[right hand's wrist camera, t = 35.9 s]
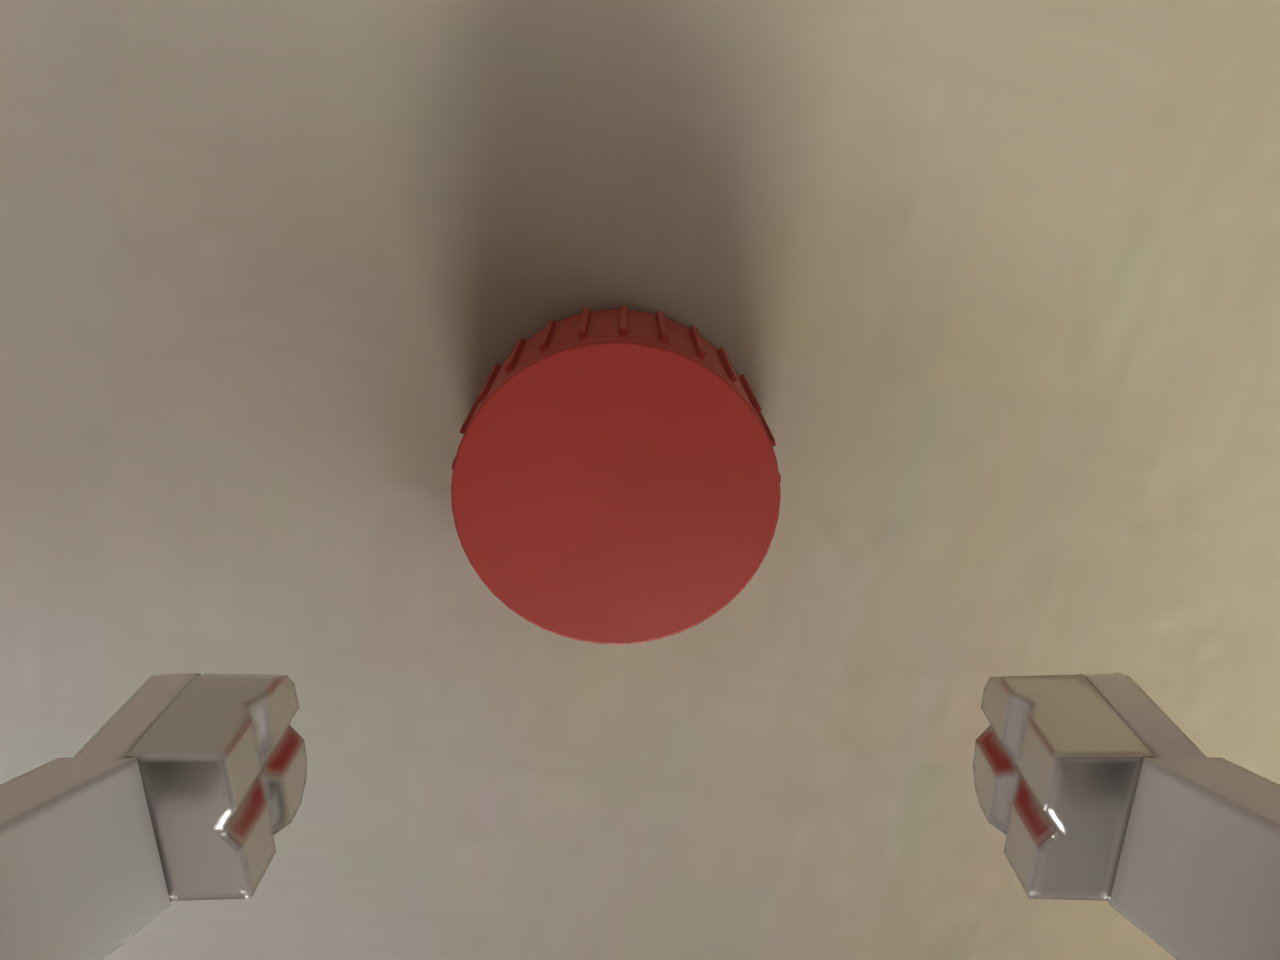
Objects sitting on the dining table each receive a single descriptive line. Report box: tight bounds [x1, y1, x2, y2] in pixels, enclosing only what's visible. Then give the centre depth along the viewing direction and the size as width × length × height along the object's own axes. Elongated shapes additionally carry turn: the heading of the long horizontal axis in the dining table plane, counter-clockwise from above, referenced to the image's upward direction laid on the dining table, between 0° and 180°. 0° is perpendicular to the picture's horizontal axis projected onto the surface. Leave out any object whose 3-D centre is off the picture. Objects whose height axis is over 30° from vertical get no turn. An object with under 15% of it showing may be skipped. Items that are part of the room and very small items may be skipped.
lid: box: [451, 305, 780, 644], centre depth 14 cm, size 5×5×2 cm
